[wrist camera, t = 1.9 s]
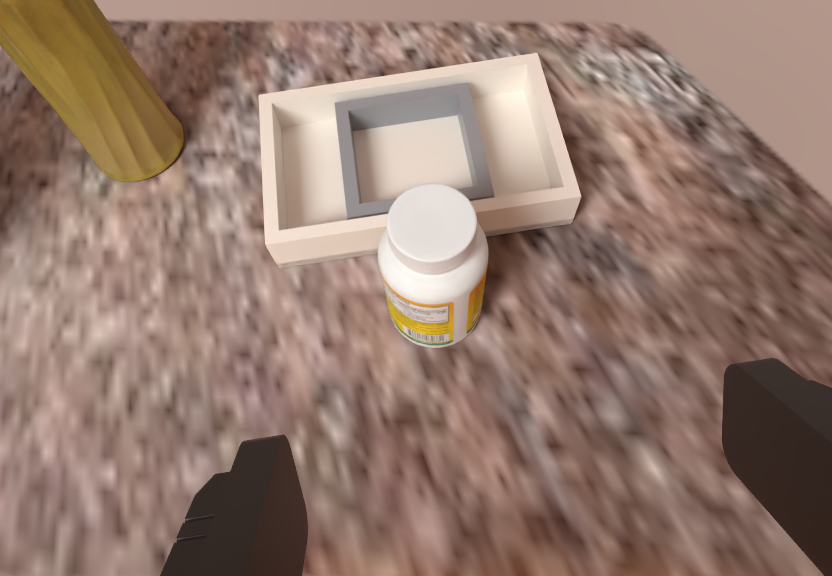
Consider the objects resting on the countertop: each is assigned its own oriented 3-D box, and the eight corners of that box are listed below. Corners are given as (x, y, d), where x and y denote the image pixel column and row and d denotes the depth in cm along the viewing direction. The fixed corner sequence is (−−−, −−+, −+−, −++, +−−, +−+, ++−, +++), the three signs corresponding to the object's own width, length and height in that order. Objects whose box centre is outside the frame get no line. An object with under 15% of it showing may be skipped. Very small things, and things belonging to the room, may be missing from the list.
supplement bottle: (417, 367, 34) (405, 298, 25) (374, 291, 36) (348, 203, 27) (500, 321, 34) (516, 239, 26) (452, 249, 36) (452, 151, 28)
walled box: (279, 268, 37) (265, 244, 34) (271, 125, 41) (258, 94, 38) (571, 223, 37) (581, 196, 34) (531, 86, 41) (537, 52, 39)
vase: (78, 166, 41) (-98, -18, 28) (130, 100, 43) (-10, -100, 30) (152, 195, 39) (4, 15, 26) (202, 125, 42) (88, -73, 29)
